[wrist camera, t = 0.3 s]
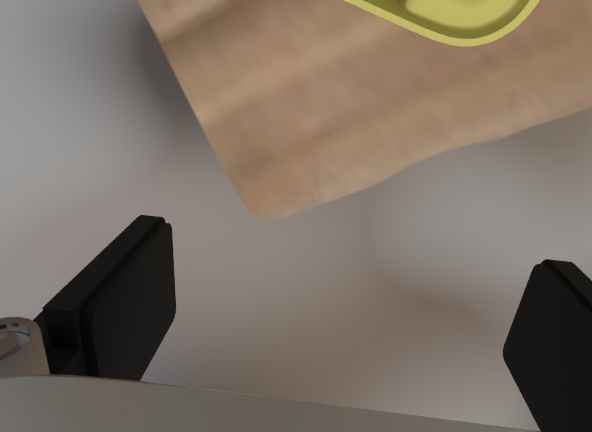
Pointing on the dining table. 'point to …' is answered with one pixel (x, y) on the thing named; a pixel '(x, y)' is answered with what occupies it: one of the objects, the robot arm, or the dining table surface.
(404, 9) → the plastic component
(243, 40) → the dining table surface
